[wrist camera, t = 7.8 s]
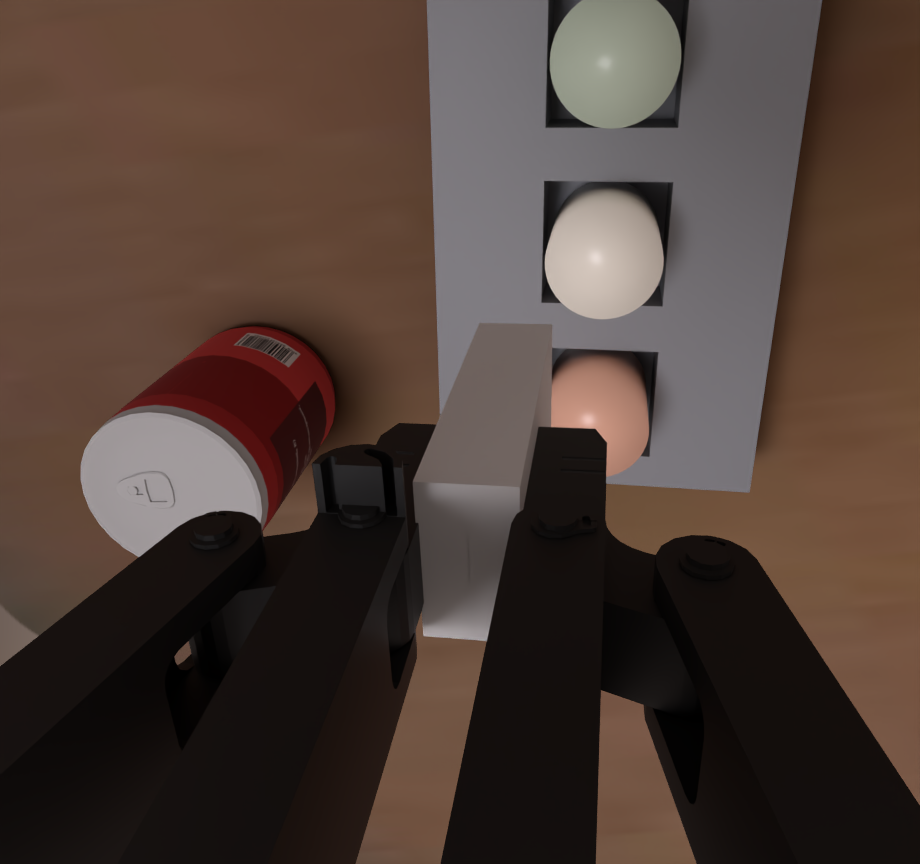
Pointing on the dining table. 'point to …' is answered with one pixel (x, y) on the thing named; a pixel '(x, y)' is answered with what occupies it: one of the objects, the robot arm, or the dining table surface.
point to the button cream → (604, 251)
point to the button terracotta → (603, 401)
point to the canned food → (210, 437)
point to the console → (654, 174)
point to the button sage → (615, 61)
